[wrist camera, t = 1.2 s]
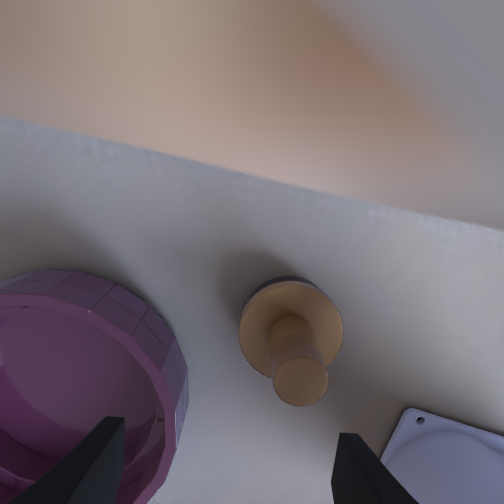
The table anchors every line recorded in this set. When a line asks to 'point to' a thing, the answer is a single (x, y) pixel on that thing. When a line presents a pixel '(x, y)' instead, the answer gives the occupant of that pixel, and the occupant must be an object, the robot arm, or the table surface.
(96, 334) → the bowl
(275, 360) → the pot brush
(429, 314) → the table surface
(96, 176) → the table surface
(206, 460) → the table surface
